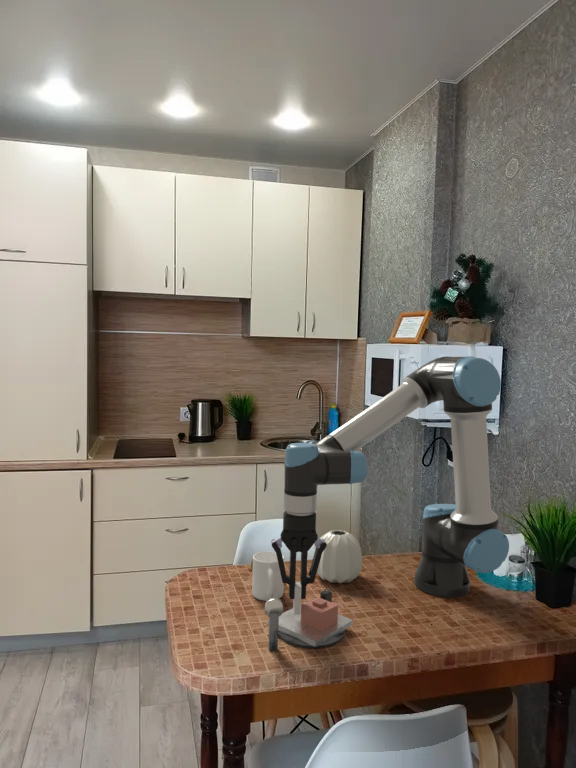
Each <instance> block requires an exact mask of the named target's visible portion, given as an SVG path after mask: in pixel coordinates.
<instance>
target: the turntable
mask: <svg viewBox="0 0 576 768" xmlns="http://www.w3.org/2000/svg"><path fill="white" fill-rule="evenodd" d="M319 596H320V597H319V598H322V599H324V600H327V601H329V602H332V603H333V591H332V590H330V589H327V588H326V589H324V590H322V591H321V592H320V595H319ZM306 602H307V601H305V602H303V603H302V602H301V605H302V604H304V603H306ZM353 623H354V620H353V618H352V619H351V618H349V617H347V616H344V615H341V614H339V613H338V622H337V623H335V624H333V625H331V626H329V627H327V628H325V629H323V630H321V631H320V630H318V629H316V628H314V627H311V626H309V625H307V624H305V623H303V622H301V615H294V611H293V607H292V608H290V609H288V610H287V611H283V613H282V614H281V616H279V623H278V630H279V631H281V632H283V633H285V634H288V635H290V636H292V637H294V638H296V639H299V640H301V641H303V642H305V643H308V644H310V645H312V646H314V647H317V646H318V645H320V644H322V643H323V642H325V641H327V640H328V639H330V638H332V637H333V636H335V635H337V634H338V633H340V632H342V631H343V630H345V631H346V630H347V629H348V628H350V627H352V626H353V625H354V624H353ZM267 626H268V627H269V619H268V620H267Z"/></svg>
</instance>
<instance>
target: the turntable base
mask: <svg viewBox="0 0 576 768" xmlns="http://www.w3.org/2000/svg"><path fill="white" fill-rule="evenodd" d="M345 636H346V629H345V630H343V631H342V632H340V633H338V634H337V635H335V636H333V637H332V638H330V639H328V640H327V641H325V642H323V643H322V644H320V645H318V646H317V647H314V646H312V645H310V644H308V643H305V642H303V641H301V640H299V639H296V638H294V637H292V636H290V635H288V634H285V633H283V632H281V631H279V630H278V639H280V640H281V641H283V642H285V643H286V644H288V645H291V646H295V647H298V648H303V649H324V648H325V649H326V648H329V647H333V646H335V645H337V644H339V643H340V642H341V641H343V639H344V638H345Z"/></svg>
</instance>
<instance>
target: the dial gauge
mask: <svg viewBox="0 0 576 768" xmlns="http://www.w3.org/2000/svg"><path fill="white" fill-rule="evenodd" d="M283 605H284V603H283V602H282V600H281V599H280V598H279V599H277V598H271V599H269V600H268V601H265V604H264V611H265V614H266V616H267V617H269V618H268V620H269V626H268V650H269V651H270V652H277V651H278V650H279V637H278V623H279V616H281V614H282V613H284V606H283Z"/></svg>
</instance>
